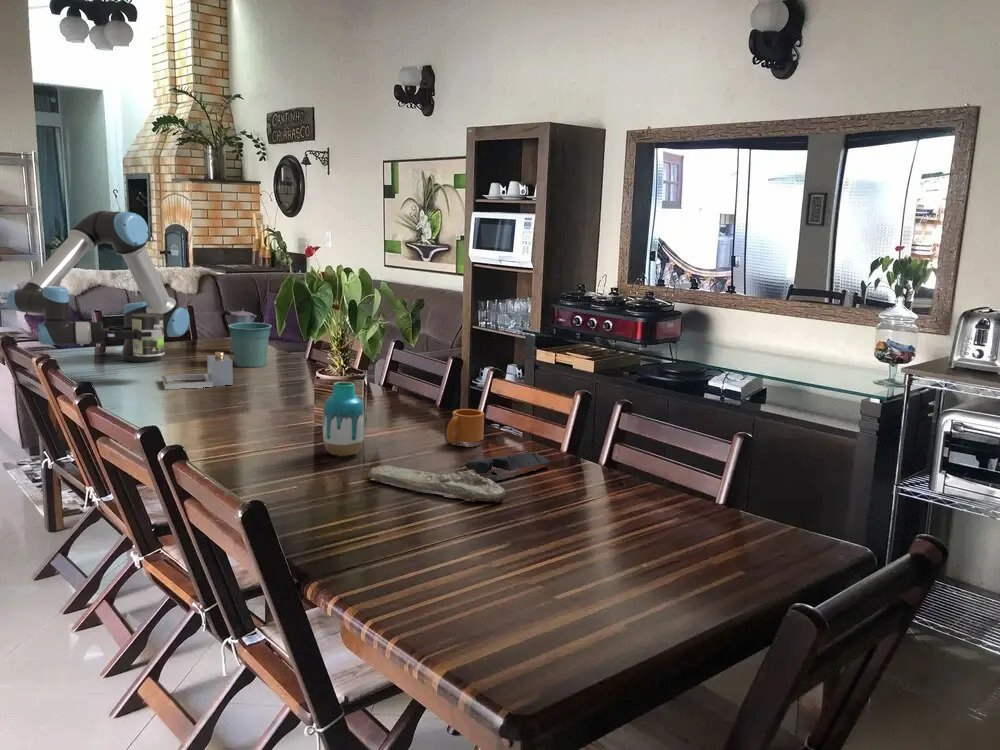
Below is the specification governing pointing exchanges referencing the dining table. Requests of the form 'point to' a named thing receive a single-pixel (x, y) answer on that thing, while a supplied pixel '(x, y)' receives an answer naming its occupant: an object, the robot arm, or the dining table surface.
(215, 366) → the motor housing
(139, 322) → the coffee can
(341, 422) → the vase
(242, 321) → the moka pot
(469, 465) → the dark slate chunk
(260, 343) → the flower pot
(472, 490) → the long grey stone
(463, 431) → the mug
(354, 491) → the dining table surface
